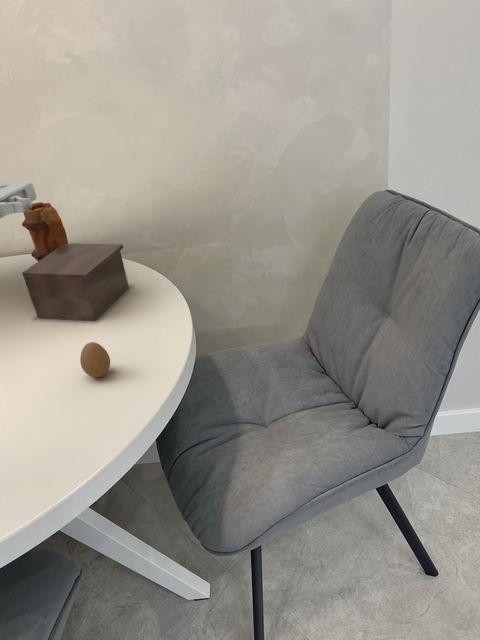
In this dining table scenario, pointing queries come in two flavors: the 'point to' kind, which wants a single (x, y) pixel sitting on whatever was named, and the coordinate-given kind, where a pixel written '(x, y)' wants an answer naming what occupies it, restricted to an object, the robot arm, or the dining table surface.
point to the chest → (78, 292)
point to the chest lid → (73, 261)
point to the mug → (44, 229)
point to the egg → (94, 360)
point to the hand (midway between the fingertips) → (27, 205)
